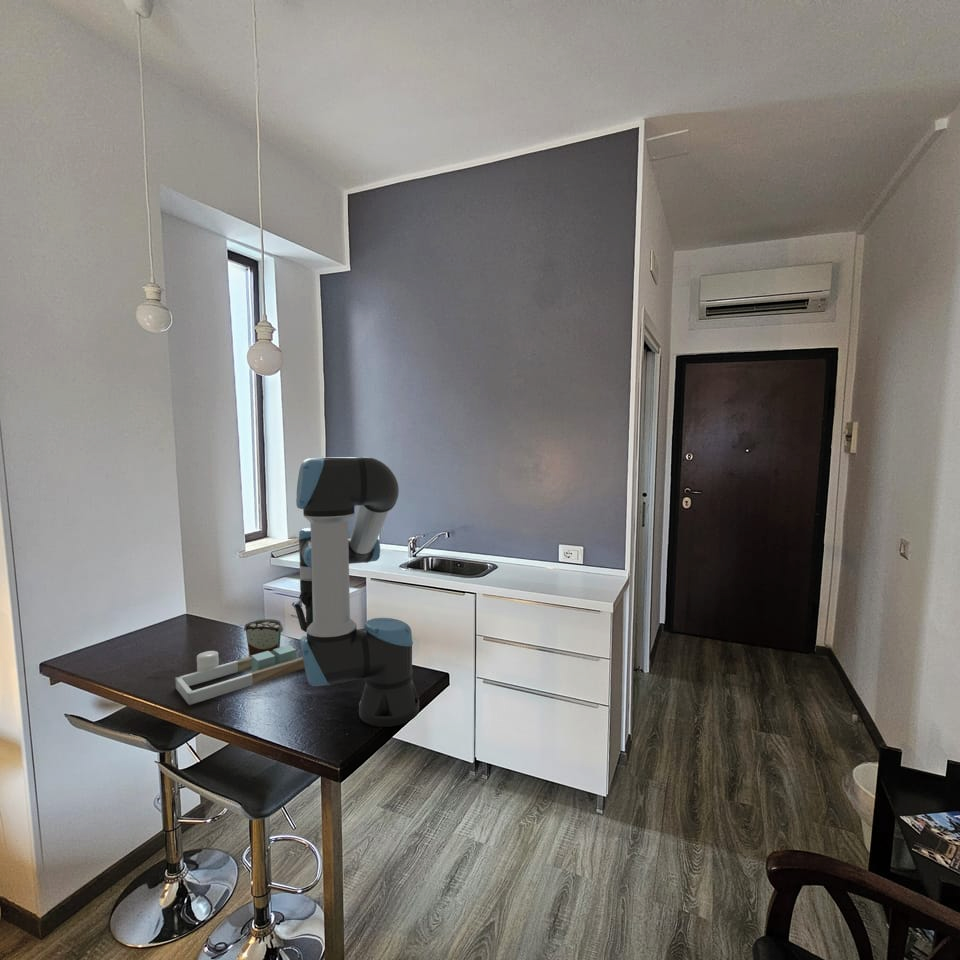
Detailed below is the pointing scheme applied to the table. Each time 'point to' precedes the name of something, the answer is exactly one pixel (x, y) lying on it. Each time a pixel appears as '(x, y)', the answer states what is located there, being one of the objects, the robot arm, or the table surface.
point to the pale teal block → (284, 654)
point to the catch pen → (214, 689)
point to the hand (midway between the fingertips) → (314, 650)
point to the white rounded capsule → (207, 660)
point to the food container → (263, 635)
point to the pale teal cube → (262, 660)
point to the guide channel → (271, 669)
